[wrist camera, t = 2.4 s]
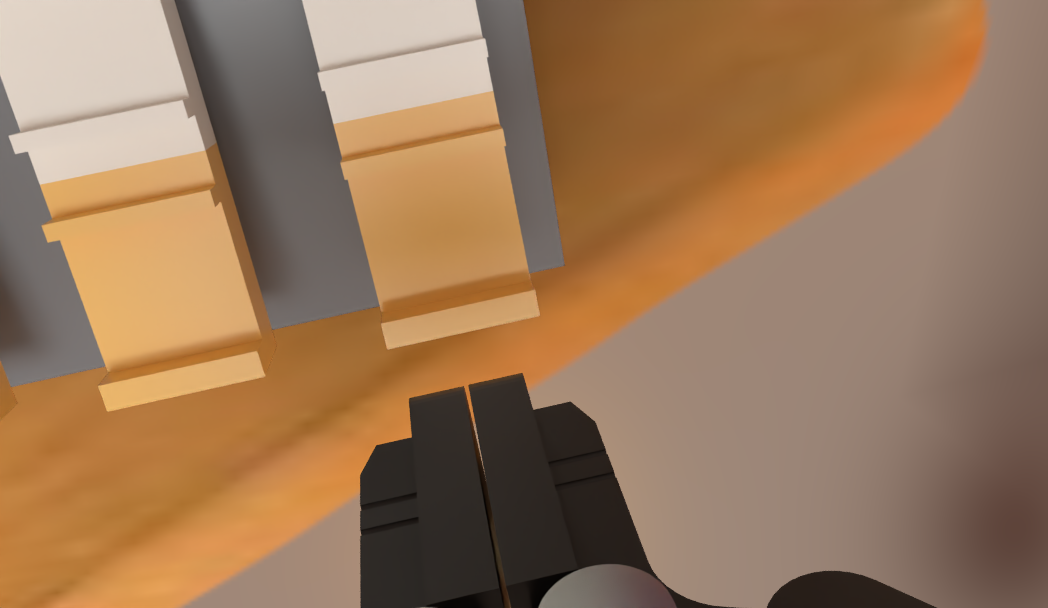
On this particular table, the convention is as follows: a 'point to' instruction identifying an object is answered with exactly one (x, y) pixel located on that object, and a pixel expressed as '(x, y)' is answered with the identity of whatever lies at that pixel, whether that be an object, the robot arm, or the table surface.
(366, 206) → the switch
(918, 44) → the table surface
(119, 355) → the switch middle
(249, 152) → the switch panel
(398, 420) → the table surface
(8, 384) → the switch
